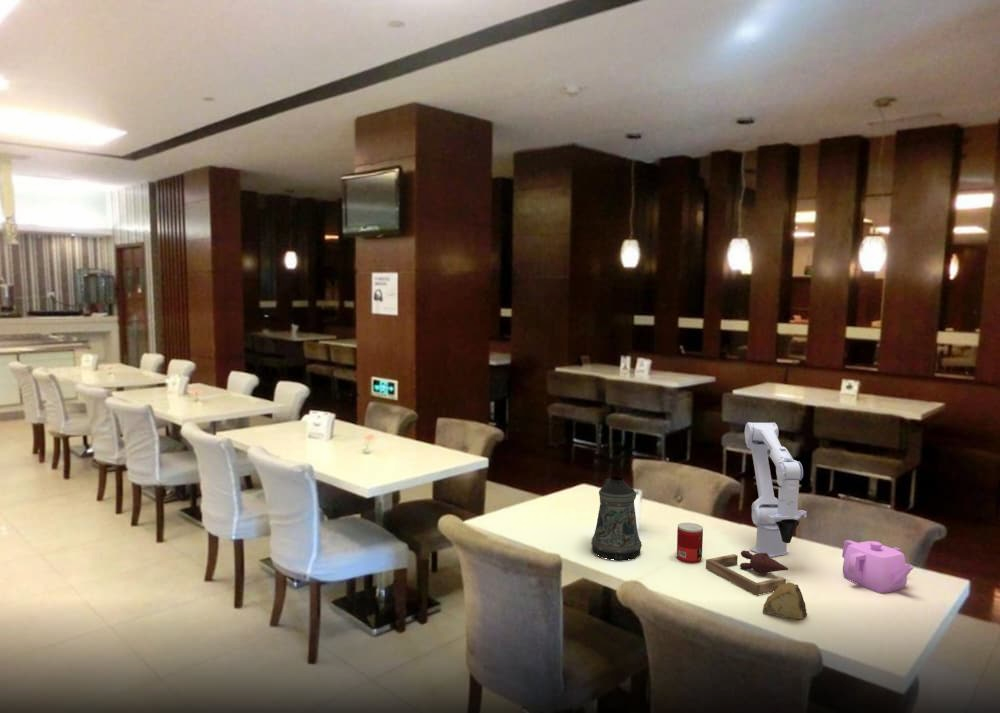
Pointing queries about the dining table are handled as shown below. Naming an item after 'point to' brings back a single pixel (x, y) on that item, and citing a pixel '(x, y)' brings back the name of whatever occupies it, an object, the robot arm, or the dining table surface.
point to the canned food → (689, 542)
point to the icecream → (761, 563)
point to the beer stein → (616, 522)
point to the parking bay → (721, 570)
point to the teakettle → (875, 566)
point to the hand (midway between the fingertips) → (786, 542)
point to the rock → (786, 602)
